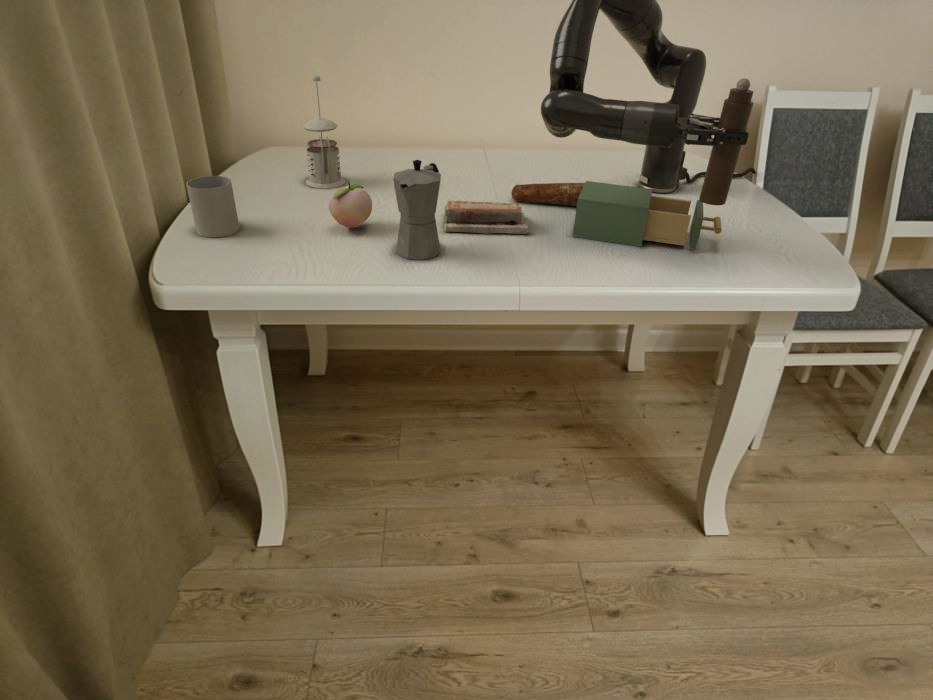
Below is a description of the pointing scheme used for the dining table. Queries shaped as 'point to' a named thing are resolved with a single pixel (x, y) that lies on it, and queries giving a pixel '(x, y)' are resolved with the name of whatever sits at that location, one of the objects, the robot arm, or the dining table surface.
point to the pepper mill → (727, 145)
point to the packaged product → (484, 217)
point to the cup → (213, 206)
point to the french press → (323, 154)
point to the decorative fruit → (350, 205)
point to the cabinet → (612, 213)
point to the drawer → (676, 221)
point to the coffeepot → (417, 211)
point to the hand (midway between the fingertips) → (746, 134)
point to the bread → (548, 193)
